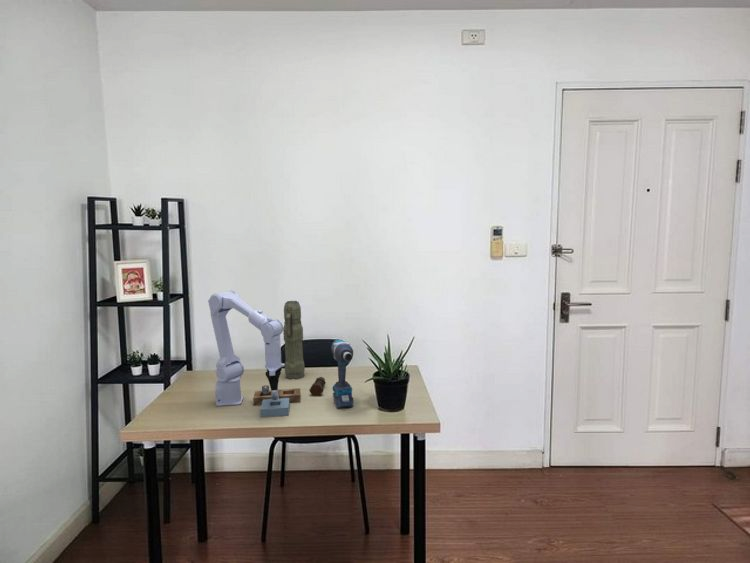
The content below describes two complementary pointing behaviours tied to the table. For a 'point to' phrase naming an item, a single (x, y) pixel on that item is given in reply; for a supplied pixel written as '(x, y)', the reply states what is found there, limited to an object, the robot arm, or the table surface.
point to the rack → (283, 393)
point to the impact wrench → (342, 374)
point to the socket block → (275, 407)
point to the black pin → (265, 390)
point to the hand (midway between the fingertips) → (274, 388)
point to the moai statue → (293, 341)
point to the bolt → (317, 387)
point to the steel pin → (274, 394)
